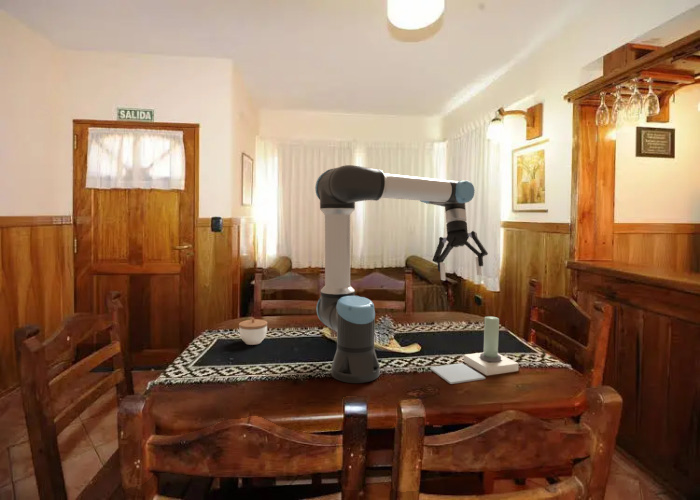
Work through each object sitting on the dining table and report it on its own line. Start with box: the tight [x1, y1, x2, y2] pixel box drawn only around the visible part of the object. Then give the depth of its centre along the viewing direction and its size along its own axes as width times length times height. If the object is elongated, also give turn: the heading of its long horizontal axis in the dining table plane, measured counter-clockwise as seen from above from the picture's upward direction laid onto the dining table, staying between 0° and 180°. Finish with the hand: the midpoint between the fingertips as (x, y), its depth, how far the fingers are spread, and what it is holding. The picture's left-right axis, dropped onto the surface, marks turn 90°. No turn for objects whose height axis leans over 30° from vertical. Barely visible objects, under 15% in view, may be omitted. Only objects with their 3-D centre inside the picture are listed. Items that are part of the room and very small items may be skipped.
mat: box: [429, 362, 486, 385], centre depth 121 cm, size 12×12×1 cm
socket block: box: [463, 351, 519, 376], centre depth 127 cm, size 12×12×2 cm
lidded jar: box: [238, 318, 268, 346], centre depth 150 cm, size 11×11×9 cm
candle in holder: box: [480, 316, 501, 363], centre depth 126 cm, size 6×6×16 cm
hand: (460, 277), depth 141 cm, fingers open, 13 cm apart
